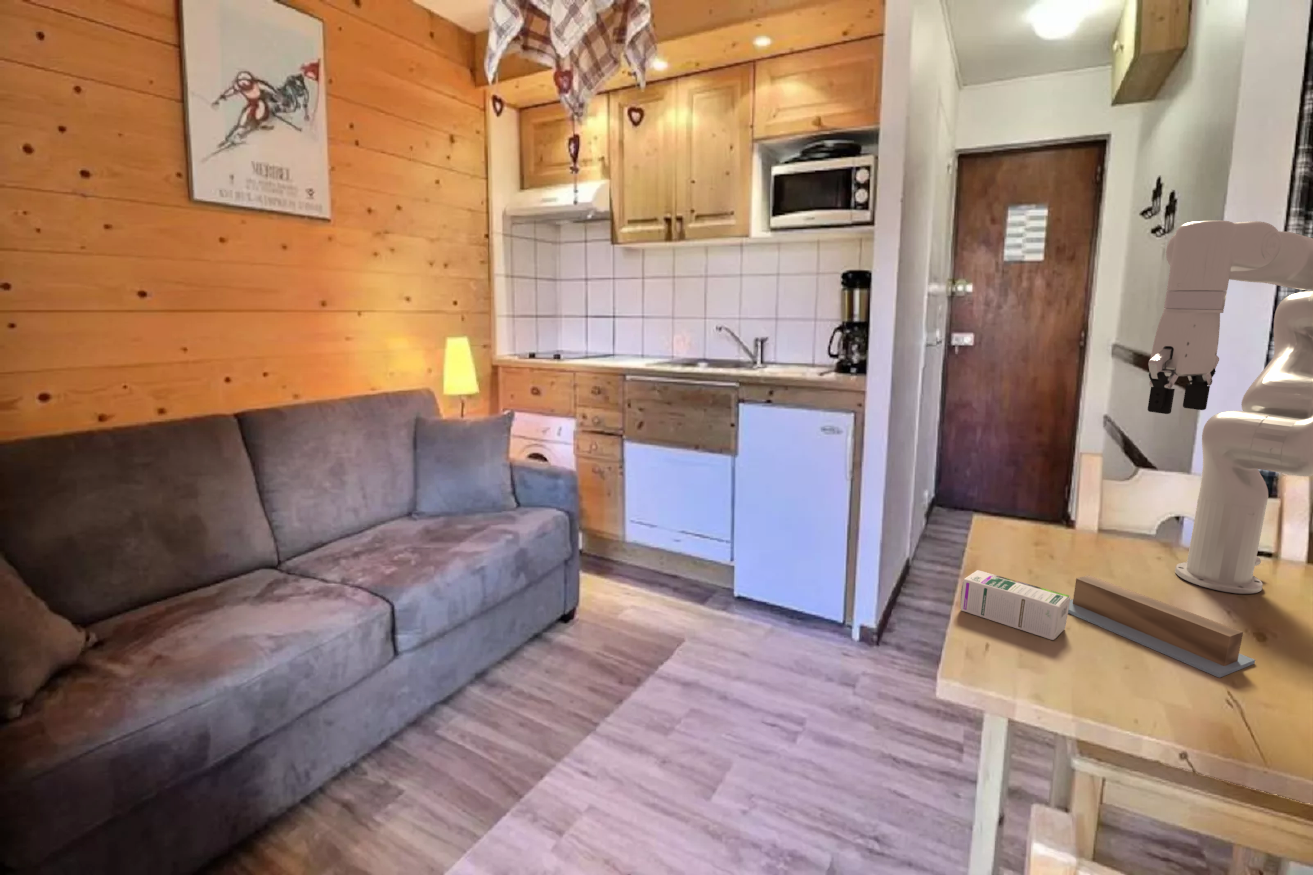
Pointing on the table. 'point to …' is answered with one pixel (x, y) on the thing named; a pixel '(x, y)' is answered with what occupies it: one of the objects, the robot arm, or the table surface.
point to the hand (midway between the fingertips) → (1176, 410)
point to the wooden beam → (1159, 620)
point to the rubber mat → (1160, 644)
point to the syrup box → (1015, 604)
